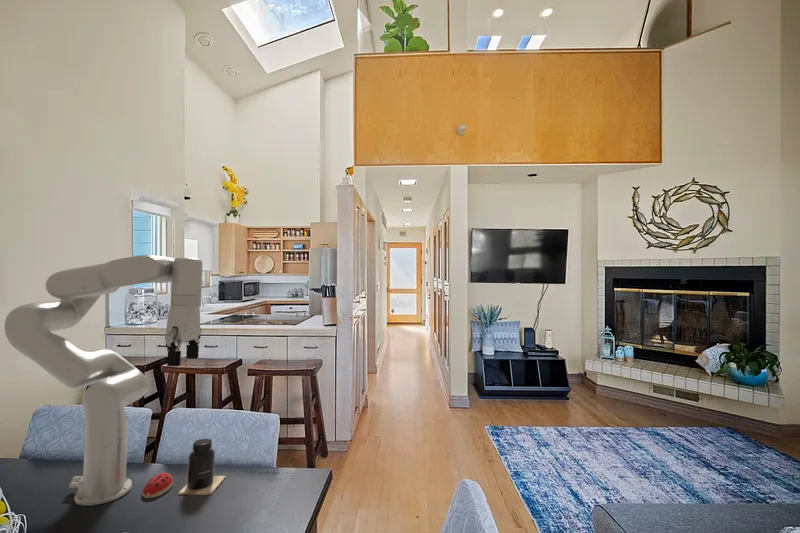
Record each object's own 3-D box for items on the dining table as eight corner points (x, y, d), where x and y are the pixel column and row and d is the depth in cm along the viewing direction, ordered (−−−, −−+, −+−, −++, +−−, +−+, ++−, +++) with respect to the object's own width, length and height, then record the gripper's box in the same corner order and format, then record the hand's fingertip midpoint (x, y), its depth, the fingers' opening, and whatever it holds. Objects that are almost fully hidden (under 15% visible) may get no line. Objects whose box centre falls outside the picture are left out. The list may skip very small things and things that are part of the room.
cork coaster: (178, 494, 106) (178, 492, 106) (194, 477, 115) (195, 475, 115) (211, 494, 106) (211, 492, 106) (225, 477, 115) (225, 475, 115)
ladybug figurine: (178, 481, 113) (178, 469, 113) (162, 500, 104) (162, 486, 104) (154, 482, 112) (154, 469, 113) (135, 501, 103) (135, 488, 103)
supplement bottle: (202, 491, 106) (204, 448, 107) (181, 488, 108) (183, 445, 108) (218, 479, 113) (220, 438, 114) (198, 476, 114) (200, 435, 115)
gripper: (188, 299, 117) (186, 355, 116) (154, 302, 100) (150, 368, 99) (213, 299, 117) (211, 356, 117) (183, 303, 100) (180, 369, 99)
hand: (183, 361), depth 108 cm, fingers open, 9 cm apart
